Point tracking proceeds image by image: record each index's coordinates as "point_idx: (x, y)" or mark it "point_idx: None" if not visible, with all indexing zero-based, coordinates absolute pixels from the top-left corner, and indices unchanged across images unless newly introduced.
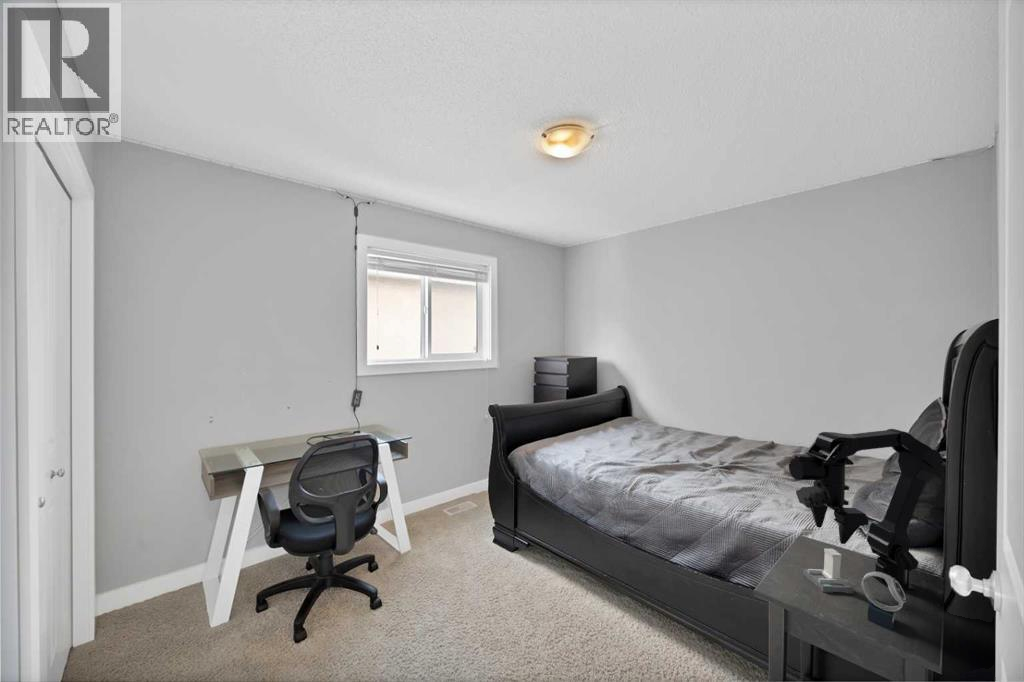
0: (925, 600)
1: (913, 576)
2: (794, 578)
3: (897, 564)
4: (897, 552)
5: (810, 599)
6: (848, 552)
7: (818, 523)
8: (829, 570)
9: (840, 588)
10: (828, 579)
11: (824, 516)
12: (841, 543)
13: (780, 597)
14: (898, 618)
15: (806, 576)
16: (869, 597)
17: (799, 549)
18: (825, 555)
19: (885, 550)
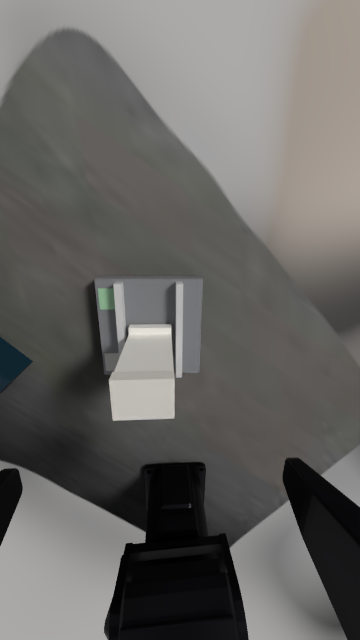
0: (108, 500)
1: None
2: (172, 225)
3: (127, 555)
4: (109, 621)
5: (43, 198)
6: None
7: (302, 494)
8: (141, 341)
9: (101, 334)
10: (117, 315)
11: (344, 631)
12: (3, 470)
13: (25, 62)
14: (11, 402)
15: (182, 276)
16: None
17: (344, 361)
18: (167, 364)
19: (136, 593)
